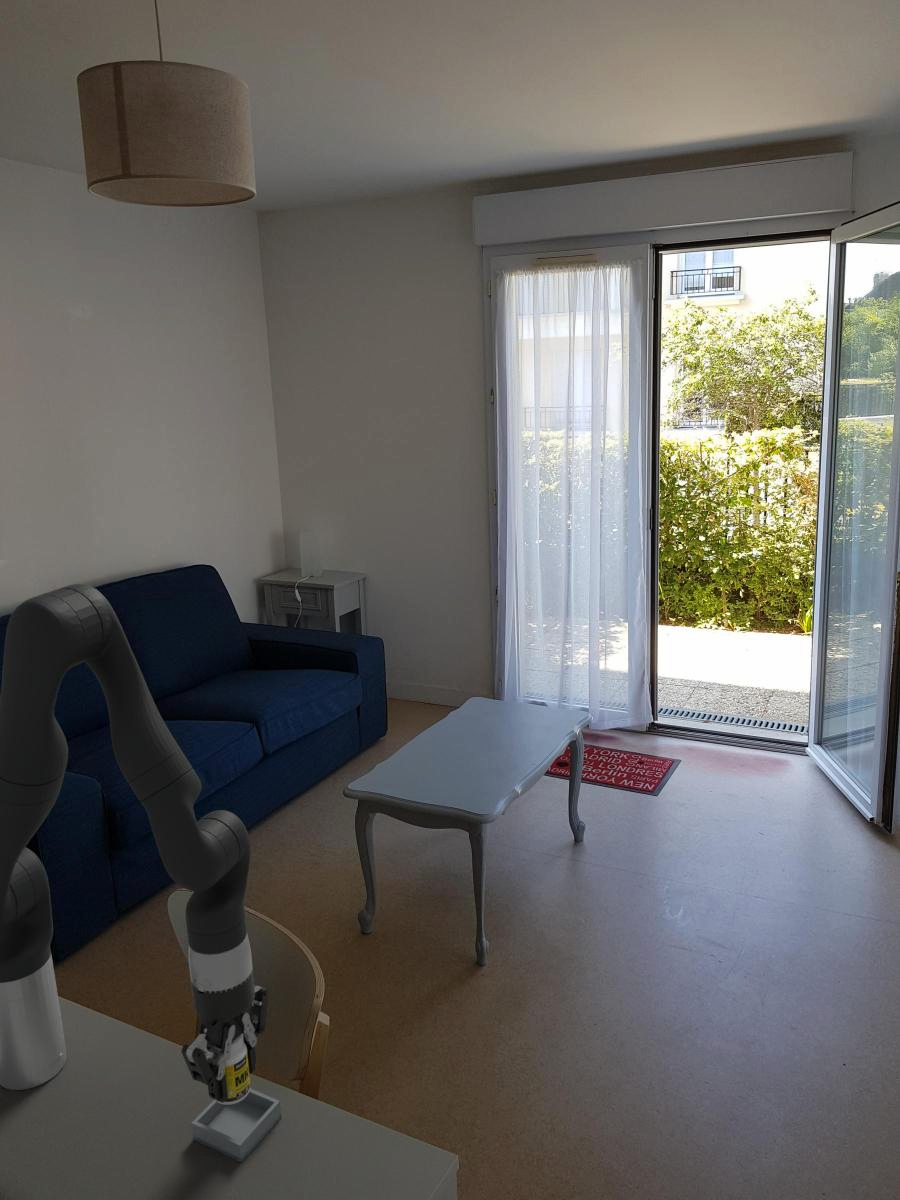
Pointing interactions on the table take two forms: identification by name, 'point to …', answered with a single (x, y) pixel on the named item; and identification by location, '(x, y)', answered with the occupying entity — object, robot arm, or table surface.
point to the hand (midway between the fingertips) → (233, 1083)
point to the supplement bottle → (236, 1072)
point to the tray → (237, 1124)
